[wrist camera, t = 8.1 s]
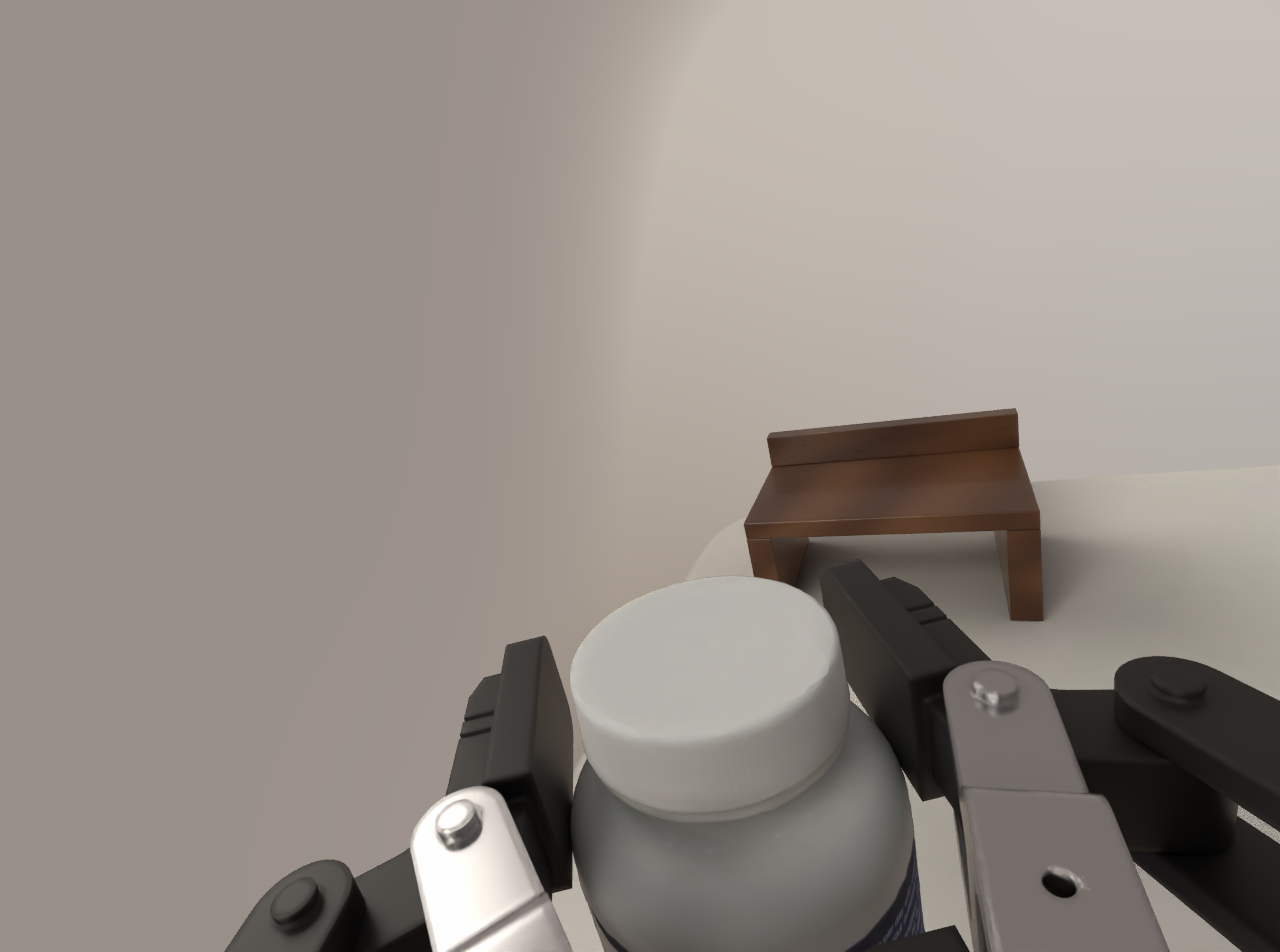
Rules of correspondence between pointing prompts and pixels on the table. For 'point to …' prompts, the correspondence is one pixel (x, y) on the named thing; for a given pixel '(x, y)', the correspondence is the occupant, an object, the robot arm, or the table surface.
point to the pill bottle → (735, 780)
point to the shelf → (901, 493)
